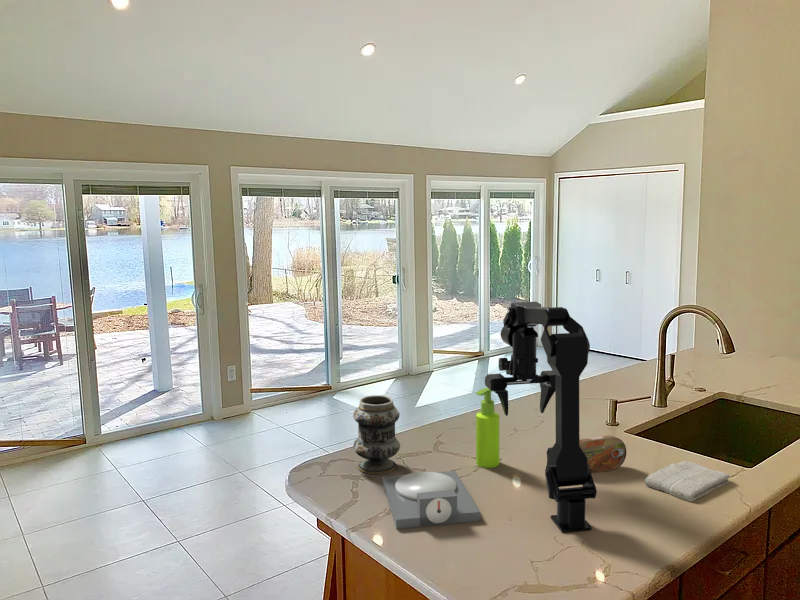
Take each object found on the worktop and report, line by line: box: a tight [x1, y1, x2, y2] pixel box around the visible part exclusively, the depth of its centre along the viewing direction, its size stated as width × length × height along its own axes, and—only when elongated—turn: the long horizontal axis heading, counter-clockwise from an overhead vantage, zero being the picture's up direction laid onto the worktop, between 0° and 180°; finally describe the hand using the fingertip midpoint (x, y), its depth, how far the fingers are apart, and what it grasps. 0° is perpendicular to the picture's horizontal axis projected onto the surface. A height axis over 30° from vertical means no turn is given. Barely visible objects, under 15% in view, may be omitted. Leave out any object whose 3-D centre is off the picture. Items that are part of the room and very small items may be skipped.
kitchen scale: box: [382, 470, 481, 530], centre depth 142 cm, size 22×18×6 cm
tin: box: [580, 435, 627, 474], centre depth 158 cm, size 15×3×8 cm, turn 105°
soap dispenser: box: [475, 387, 500, 469], centre depth 162 cm, size 6×7×20 cm
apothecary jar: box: [352, 394, 401, 475], centre depth 162 cm, size 12×12×18 cm
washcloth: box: [644, 460, 730, 503], centre depth 149 cm, size 12×18×3 cm, turn 127°
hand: (524, 413), depth 157 cm, fingers open, 9 cm apart
